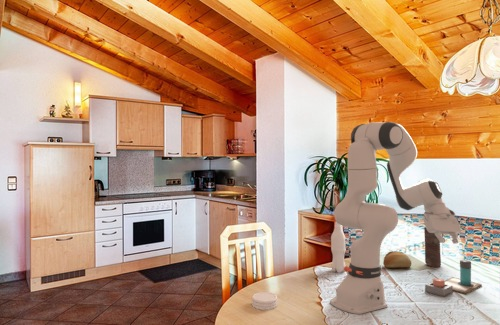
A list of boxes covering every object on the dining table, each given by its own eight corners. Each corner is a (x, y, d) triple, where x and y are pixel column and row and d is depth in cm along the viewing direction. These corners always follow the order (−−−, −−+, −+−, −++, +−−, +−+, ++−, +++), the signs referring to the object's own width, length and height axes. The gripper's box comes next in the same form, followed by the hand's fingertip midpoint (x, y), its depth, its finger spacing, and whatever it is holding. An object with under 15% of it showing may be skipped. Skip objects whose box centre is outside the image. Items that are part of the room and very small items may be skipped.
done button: (441, 290, 143) (441, 282, 143) (430, 287, 146) (430, 280, 146) (446, 287, 146) (446, 280, 146) (435, 284, 149) (435, 277, 149)
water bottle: (344, 269, 178) (344, 220, 178) (347, 273, 171) (346, 223, 171) (330, 269, 179) (329, 220, 179) (332, 273, 172) (331, 223, 172)
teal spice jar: (468, 286, 149) (468, 263, 149) (458, 283, 153) (458, 261, 153) (472, 284, 152) (472, 261, 152) (462, 281, 155) (462, 259, 155)
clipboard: (465, 294, 143) (465, 292, 143) (436, 286, 153) (436, 284, 153) (481, 285, 153) (481, 283, 153) (452, 278, 162) (452, 276, 162)
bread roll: (378, 265, 184) (378, 250, 184) (404, 263, 187) (404, 248, 187) (389, 271, 175) (388, 255, 175) (415, 269, 178) (415, 253, 178)
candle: (421, 263, 186) (421, 226, 186) (432, 262, 188) (432, 225, 188) (433, 268, 179) (432, 229, 179) (444, 266, 181) (443, 228, 181)
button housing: (443, 297, 141) (443, 289, 141) (425, 291, 147) (425, 284, 147) (452, 292, 145) (452, 285, 145) (434, 287, 151) (433, 280, 151)
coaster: (262, 298, 142) (262, 289, 142) (282, 304, 136) (282, 295, 136) (246, 306, 135) (246, 297, 135) (266, 313, 128) (266, 303, 128)
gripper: (428, 208, 150) (441, 239, 143) (456, 212, 160) (469, 241, 153) (416, 214, 155) (428, 244, 148) (444, 217, 164) (456, 246, 157)
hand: (449, 242), depth 150 cm, fingers open, 8 cm apart
